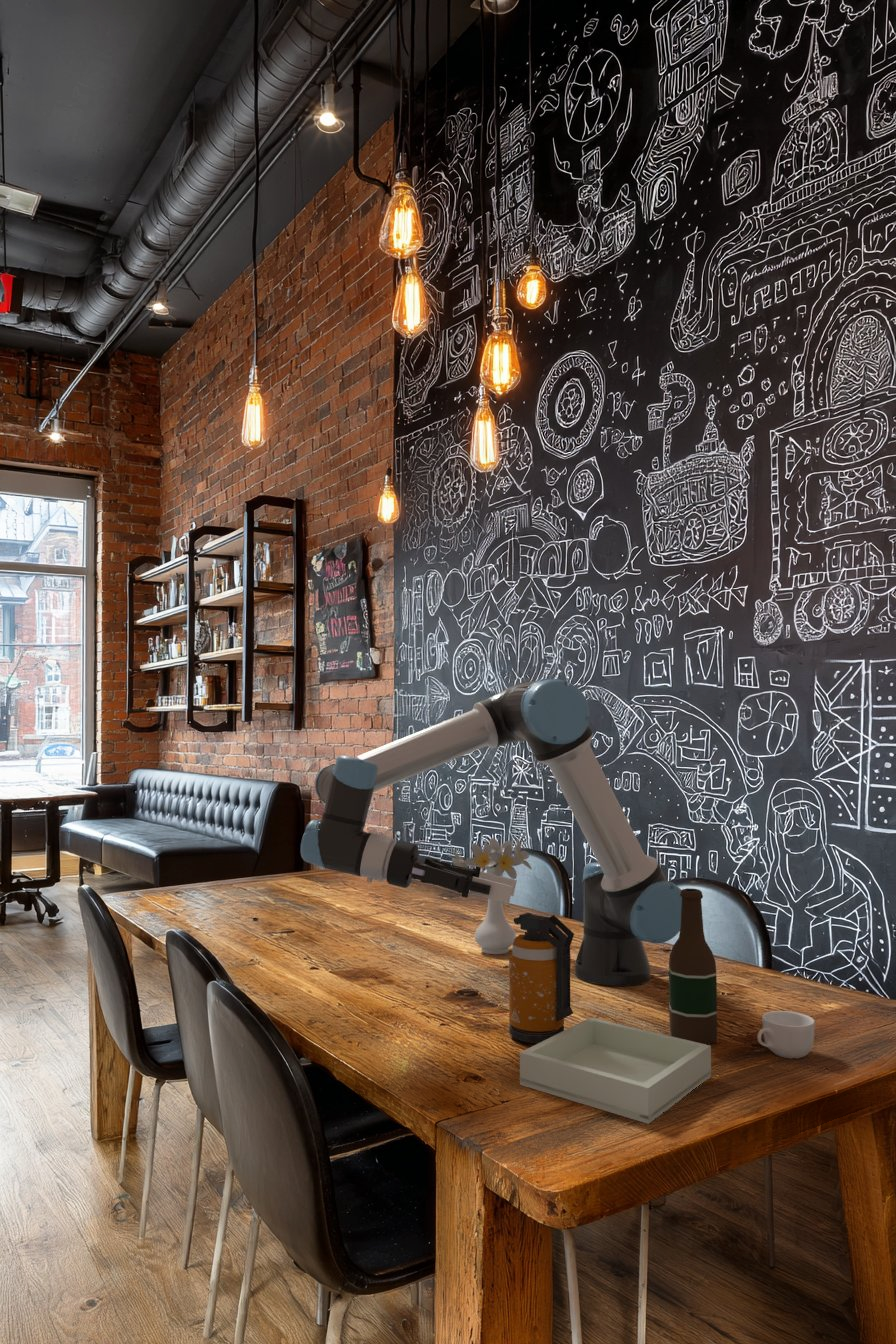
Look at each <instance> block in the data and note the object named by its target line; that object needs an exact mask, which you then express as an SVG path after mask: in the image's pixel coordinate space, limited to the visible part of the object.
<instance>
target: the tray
mask: <svg viewBox="0 0 896 1344" xmlns="http://www.w3.org/2000/svg"><path fill="white" fill-rule="evenodd" d="M710 1077H711V1078H712V1046H711V1044H708V1045H706V1044H702V1043H698V1042H693V1041H689V1040H685V1039H681V1038H676V1037H672V1035H667V1034H663V1033H660V1032H659V1033H658V1032H654V1031H651V1030H647V1029H646V1030H645V1029H642V1028H637V1027H634V1026H628V1025H625V1024H620V1023H615V1022H612V1021H609V1020H603V1019H599V1018H594V1017H589V1018H587V1019H585V1020H583V1021H581V1022H579V1023H577V1024H574V1025H573V1026H571V1027H569V1028H566V1029H564V1031H562V1032H560V1033H558V1034H556V1035H554V1036H552V1037H550V1038H548V1039H546V1040H544V1041H542V1042H540V1043H538V1044H533V1045H532V1046H530V1047H528V1048H526V1049H524V1050H521V1051H520V1052H519V1085H520V1086H523V1087H526V1088H529V1089H533V1090H537V1091H539V1092H542V1093H545V1094H546V1093H547V1094H550V1095H553V1096H555V1097H559V1098H561V1099H566V1100H569V1101H572V1102H576V1103H579V1104H582V1105H585V1106H589V1107H592V1108H596V1109H598V1110H602V1111H605V1112H608V1113H610V1114H611V1113H612V1114H615V1115H618V1116H620V1117H625V1118H627V1119H631V1120H634V1121H637V1122H639V1123H640V1122H641V1123H644V1124H647V1125H648V1124H650V1123H651V1122H653V1121H654V1120H656V1119H657V1118H659V1117H660V1116H661V1115H663V1114H664V1113H665V1112H667V1111H668V1110H669V1109H671V1108H672V1107H673V1106H675V1105H676V1104H677V1103H678V1102H679V1101H681V1100H683V1099H684V1098H685V1097H687V1096H688V1095H689V1094H691V1093H692V1092H693V1091H694V1090H693V1089H695V1088H696V1087H697V1088H699V1087H700V1086H701V1085H702V1084H701V1083H703V1082H704V1081H705V1082H707V1081H708V1080H710V1079H711V1078H710ZM707 1079H708V1080H707ZM706 1080H707V1081H706ZM705 1082H704V1083H705ZM704 1083H703V1084H704ZM700 1084H701V1085H700ZM699 1085H700V1086H699ZM698 1086H699V1087H698ZM697 1088H696V1089H697ZM696 1089H695V1090H696ZM692 1090H693V1091H692ZM691 1091H692V1092H691ZM690 1092H691V1093H690ZM688 1093H689V1094H688ZM687 1094H688V1095H687ZM686 1095H687V1096H686ZM684 1096H685V1097H684ZM683 1097H684V1098H683ZM682 1098H683V1099H682ZM675 1103H676V1104H675ZM663 1112H664V1113H663ZM655 1118H656V1119H655Z"/></svg>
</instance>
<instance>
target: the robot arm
mask: <svg viewBox="0 0 896 1344" xmlns="http://www.w3.org/2000/svg"><path fill="white" fill-rule="evenodd" d="M590 717H591V716H590V706H589V703H588V700H587V699H586V696H585V694H583V692H582V691H581V690H580V689H579V688H578V687H577V686H576V685H574V684H573V683H571V682H569V681H567V680H562V679H558V678H548V677H547V678H543V679H539V680H531V681H522V682H519V683H515V684H513V685H511V686H509V687H508V688H505V689H503V690H502V691H500V692H498V693H496V694H494V695H492V696H490V697H487V698H485V699H482V700H481V701H478V702H476V703H474V705H473V706H472V709H471V710H470V711H466V712H464V713H462V714H459V715H457V716H454V717H452V718H448V719H447V720H443V721H441V722H439V723H437V724H434V725H432V726H429V727H426V728H425V729H424V728H423V729H422V730H419V731H416V732H413V733H411V734H409V735H407V736H404V737H402V738H399V739H397V740H393V741H391V742H389V743H386V744H383V745H381V746H379V747H376V748H374V749H371V750H369V751H367V752H364V753H361V754H359V755H356V756H355V757H352V756H348V755H343V754H342V755H339V756H337V758H336V761H335V763H331V764H328V765H325V766H323V767H322V768H321V769H320V770H319V771H318V772H317V773H316V776H315V778H314V782H313V783H314V791H315V793H316V795H317V797H319V799H320V800H321V802H323V803H324V808H323V812H322V816H321V819H312V820H310V821H309V822H308V824H306V826H305V830H304V833H303V835H302V838H301V842H300V857H301V858H302V860H303V861H304V862H306V863H308V864H311V865H315V866H318V867H322V868H323V869H325V870H331V871H336V872H340V873H344V874H349V875H353V876H357V877H362V878H366V882H367V883H368V884H369V883H372V882H373V880H374V881H378V882H381V883H383V882H385V881H386V882H387V884H388V885H392V886H396V887H401V888H405V889H406V888H408V887H409V886H410V885H411V883H412V881H413V880H418V881H420V882H421V883H424V884H431V885H433V886H438V887H441V888H444V889H448V890H450V891H453V892H454V891H455V892H457V893H458V894H461V897H462V898H465V899H466V898H467V899H468V897H469V894H470V895H474V896H477V897H481V898H484V899H485V898H486V899H492V900H496V901H500V902H502V903H505V904H510V900H511V896H512V897H513V896H515V895H514V894H515V889H516V885H517V879H512V878H511V877H509V878H508V877H506V876H503V877H501V876H497V875H493V874H489V873H487V872H485V871H483V872H481V871H480V870H481V867H477V866H475V867H474V868H472V869H470V867H467V868H465V867H460V866H455V865H454V864H450V863H448V862H446V861H442V860H441V861H440V860H438V859H435V858H434V857H433V858H432V857H427V858H426V857H425V859H424V860H422V859H419V858H418V856H419V846H418V844H416V843H413V842H409V841H405V840H401V839H398V840H397V841H396V840H395V839H394V838H393V837H391V836H390V837H389V836H386V835H383V834H382V835H381V834H377V833H372V832H368V831H364V830H365V825H366V821H367V817H368V814H369V808H370V805H371V801H372V797H373V793H375V792H377V791H379V790H382V789H384V788H387V787H390V786H391V785H394V784H397V783H399V782H402V781H404V780H407V779H409V778H412V777H414V776H416V775H419V774H421V773H424V772H426V771H429V770H431V769H433V768H436V767H439V766H440V765H441V766H442V765H443V764H446V763H448V762H451V761H453V760H455V759H458V758H460V757H463V756H465V755H468V754H470V753H472V752H475V751H477V750H480V749H482V748H485V747H488V748H490V749H495V748H498V747H500V746H504V745H507V744H510V743H516V742H527V744H528V746H529V748H530V750H531V752H532V754H533V755H534V757H535V759H536V761H537V762H538V763H539V764H542V765H546V766H548V767H549V769H550V771H551V773H552V775H553V776H554V777H553V778H554V779H555V780H556V783H557V784H558V786H559V789H560V791H561V792H562V795H563V797H564V799H565V800H566V803H567V805H568V806H569V809H570V810H571V812H572V814H573V816H574V818H575V820H576V822H577V824H578V825H579V827H580V830H581V832H582V834H583V836H584V838H585V839H586V841H587V844H588V845H589V848H590V850H591V851H592V853H593V855H594V857H595V860H596V862H588V863H587V864H586V865H585V866H584V868H583V874H582V880H581V882H582V898H583V899H582V900H583V902H582V904H583V905H582V906H583V907H582V909H583V911H582V913H583V914H582V915H583V917H582V918H583V920H582V921H583V936H582V940H581V943H580V946H579V949H578V953H577V955H576V956H577V957H576V958H575V962H574V975H575V977H577V978H578V979H580V980H581V981H584V982H588V983H591V984H596V985H602V986H604V985H605V986H612V987H614V986H619V987H621V986H622V987H623V986H624V987H626V986H634V985H636V986H637V985H641V984H645V983H646V982H648V981H650V980H651V965H650V964H651V963H650V961H649V958H648V955H647V951H646V949H645V946H644V942H647V943H650V944H663V943H666V942H668V941H670V940H672V939H674V938H675V937H676V936H677V935H679V934H680V926H681V906H682V897H681V896H680V893H681V890H682V889H681V888H680V887H679V886H677V884H676V883H674V882H672V881H668V880H667V878H666V876H665V874H664V871H663V870H662V868H661V865H660V864H659V862H658V859H656V857H654V856H650V855H646V853H645V852H644V850H643V848H642V846H641V843H640V842H639V840H638V838H637V837H636V834H635V832H634V830H633V829H632V826H631V824H630V822H629V820H628V818H627V816H626V815H625V812H624V811H623V809H622V807H621V805H620V802H619V801H618V799H617V797H616V794H615V793H614V790H613V789H612V787H611V785H610V783H609V781H608V779H607V777H606V775H605V773H604V771H603V769H602V767H601V765H600V763H599V761H598V759H597V757H596V755H595V753H594V752H593V749H592V747H591V742H592V740H593V736H594V733H593V731H592V728H591V727H590V725H589V718H590Z"/></svg>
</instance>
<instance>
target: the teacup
mask: <svg viewBox="0 0 896 1344" xmlns="http://www.w3.org/2000/svg"><path fill="white" fill-rule="evenodd" d="M761 1019H762V1020H761V1022H762V1028H761V1029H760V1030H759V1031H758V1032H757V1042H758V1043H759V1044H760V1045H761V1046H763V1047H765V1048H768V1049H769V1050H770V1051H771V1052H773V1053H774V1054H775V1055H776V1056H779V1057H780V1058H785V1059H792V1058H796V1059H801V1057H802V1058H803V1057H805V1056H807V1055H808V1054H809V1053H811V1051H812V1049H813V1047H814V1042H815V1028H816V1023H815V1022H816V1021H815V1019H814V1018H813V1017H811V1016H810V1015H807V1014H804V1013H801V1012H796V1011H790V1010H775V1011H774V1010H772V1011H767V1012H765V1013H763V1014H762V1015H761ZM762 1034H763V1038H764V1042H763V1041H762Z"/></svg>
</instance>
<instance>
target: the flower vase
mask: <svg viewBox="0 0 896 1344" xmlns="http://www.w3.org/2000/svg"><path fill="white" fill-rule="evenodd" d="M487 843H488V841H487V840H486V841H485V842H484V845H483V848H481V847H480V846H479V844H476V843H474V844H472V845H471V852H472V853H473V856H474V857H469V858H467V859H466V860H464V859H463V858H462V857H461V856H460V855H459V854H458V853H457V851H455V850H454V849H452V852H453V853H452V854H453V855H454V856H455V857H452V858H451V862H452V865H455V866H460V867H465V868H468V867H469V868H470V869H475V868H476V866H477V867H481V870H480V871H481V872H484V869H485V871H486V873H489V874H493V875H497V876H501V877H504V876H503V875H504V872H506V874H507V875H508V877H509V878H510V879H514V880H516V879H517V875H518V874H517V870H516V869H515V867H516V866H520V865H524V866H525V867H527V868H528V869H530V870H533V868H532V866H531V865H530V863H529V862H528V861H527V859H529V858H530V854H529V853H528V851H526V850H522V844H521V841H520V839H519V838H517V839H516V843H514V849H513V846H512V844H513V843H512V841H511V840H506V841H504V842H503V843H502V844H501V846H500V843H499V841H497V839H496V838H493V837H492V838H490V839H489V844H487ZM487 899H488V898H487ZM503 907H504V906H503V902H500V901H496V900H492V899H488V900H487V911H486V914H485V916H484V919H483V921H482V922H480V924H479V925H478V926H477V928H476V930H475V932H474V941H475V942H476V944H477V945H478V946H480V947H481V951H482V953H484V954H486V955H493V956H494V955H496V956H497V955H498V956H499V955H504V954H507V953H509V952H510V947H513V942H514V939H515V938H516V937H517V934H516V932H515V929H514V928H513V927H512V925H511V924H510V923H509V922H508V920H507V919H506V916H505V913H504V909H503Z"/></svg>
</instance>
